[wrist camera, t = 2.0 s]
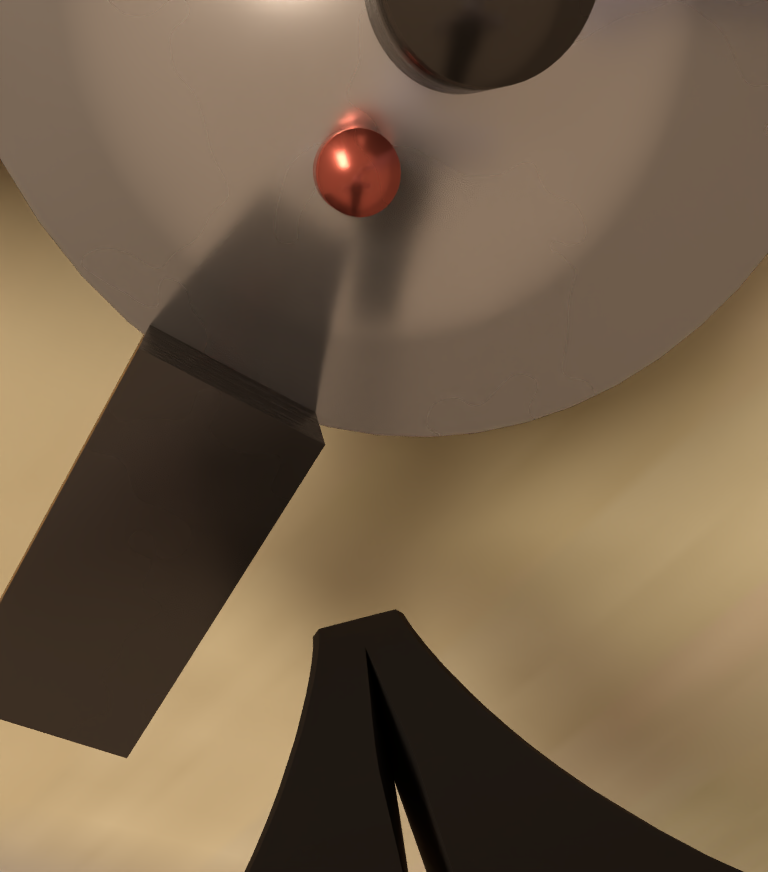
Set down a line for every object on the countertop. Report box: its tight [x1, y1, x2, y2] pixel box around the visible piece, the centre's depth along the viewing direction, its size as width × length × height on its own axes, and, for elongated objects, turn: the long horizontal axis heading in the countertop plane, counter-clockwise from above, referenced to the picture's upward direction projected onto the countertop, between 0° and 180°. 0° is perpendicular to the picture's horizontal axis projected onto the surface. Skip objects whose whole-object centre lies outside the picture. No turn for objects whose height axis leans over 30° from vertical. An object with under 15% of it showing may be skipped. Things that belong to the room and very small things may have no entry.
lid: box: [0, 0, 768, 758], centre depth 9 cm, size 17×12×2 cm
